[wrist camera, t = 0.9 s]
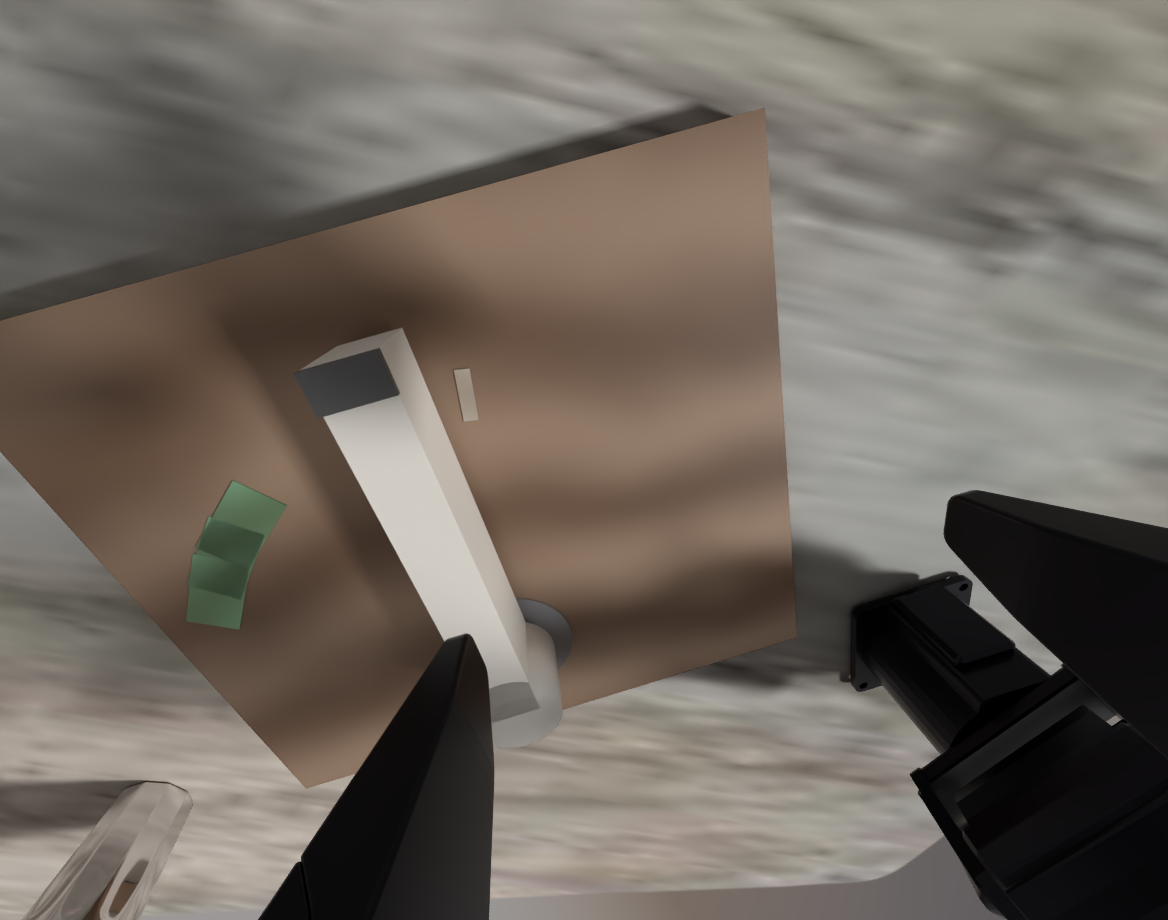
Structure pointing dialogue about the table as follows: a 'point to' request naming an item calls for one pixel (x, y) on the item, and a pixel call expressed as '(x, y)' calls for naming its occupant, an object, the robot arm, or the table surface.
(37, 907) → the milkshake
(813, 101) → the table surface
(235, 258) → the plate
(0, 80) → the table surface
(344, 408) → the peg lever
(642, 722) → the table surface
